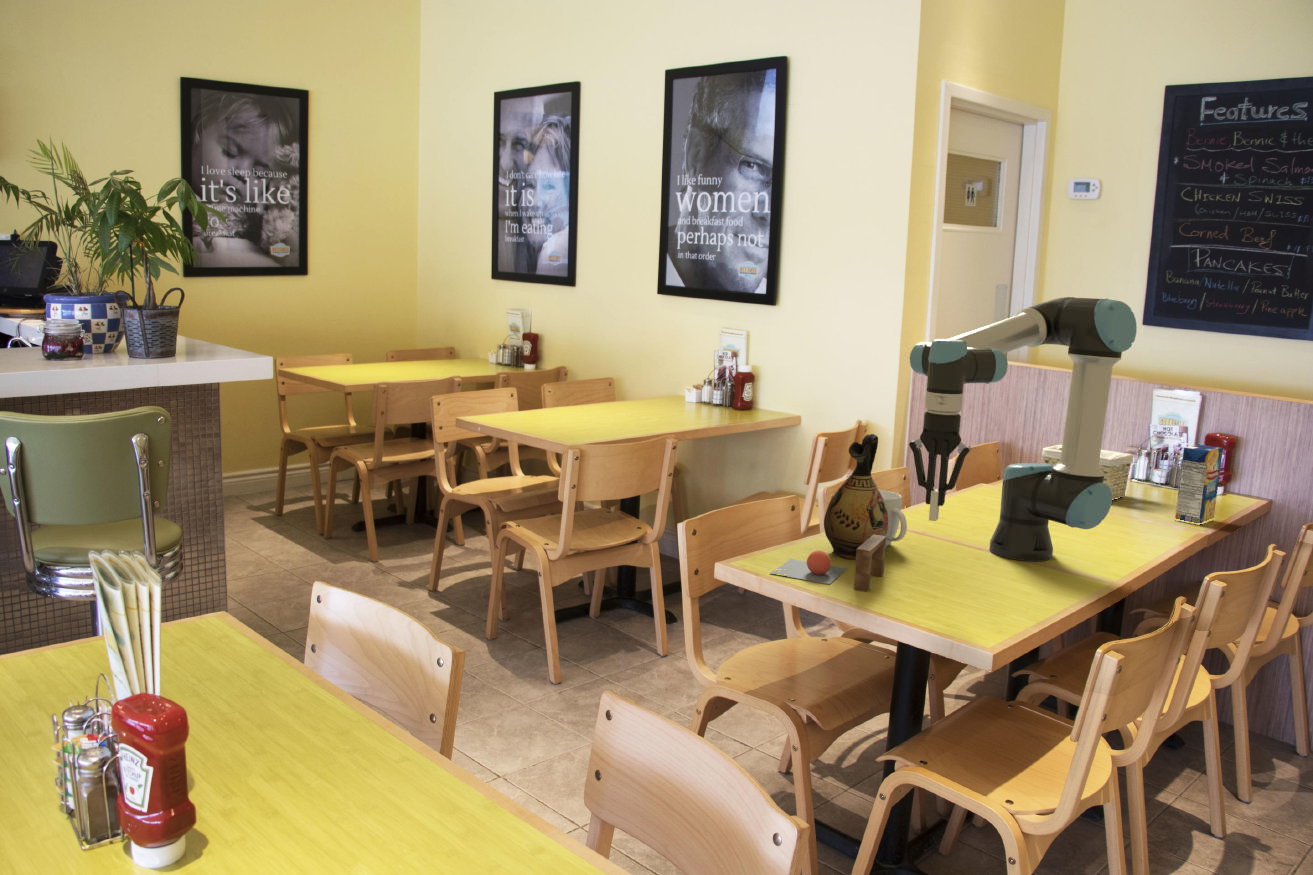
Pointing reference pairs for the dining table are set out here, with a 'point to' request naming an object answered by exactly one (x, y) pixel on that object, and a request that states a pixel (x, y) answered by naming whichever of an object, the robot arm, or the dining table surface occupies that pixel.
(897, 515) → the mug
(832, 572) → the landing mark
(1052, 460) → the storage basket
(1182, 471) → the blue cardboard box
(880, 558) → the bridge
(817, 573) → the ball
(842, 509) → the ceramic jug
